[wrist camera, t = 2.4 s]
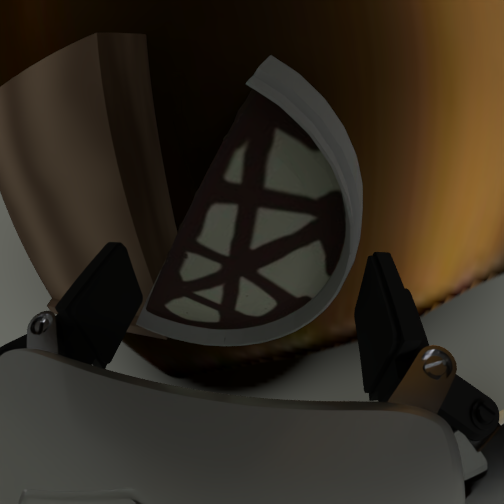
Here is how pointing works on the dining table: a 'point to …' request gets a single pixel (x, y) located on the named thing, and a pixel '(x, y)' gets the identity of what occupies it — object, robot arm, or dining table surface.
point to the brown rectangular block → (86, 162)
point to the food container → (264, 222)
